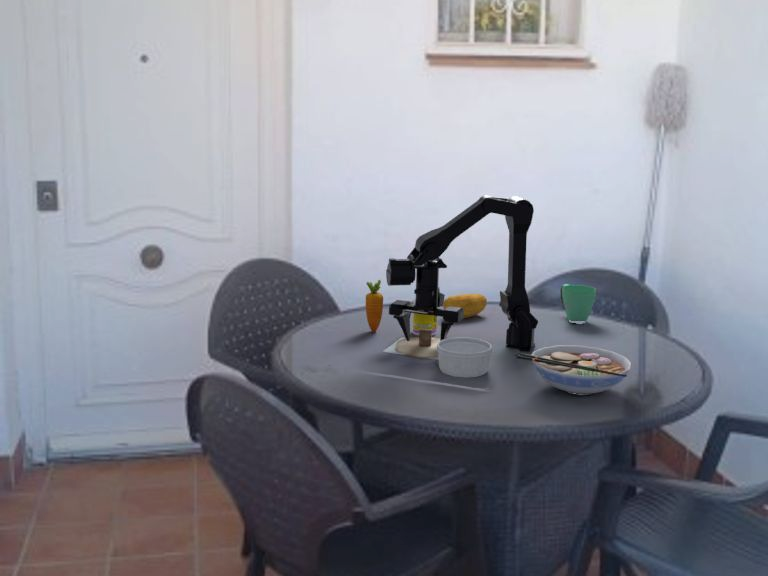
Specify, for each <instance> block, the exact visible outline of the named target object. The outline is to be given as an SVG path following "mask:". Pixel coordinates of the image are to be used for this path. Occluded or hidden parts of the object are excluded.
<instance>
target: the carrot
mask: <svg viewBox="0 0 768 576" xmlns="http://www.w3.org/2000/svg"><path fill="white" fill-rule="evenodd" d="M381 282H382V280H381V279H378V280H377V282H375V283H374V284H373V282H372V281H370V282H369V281H367V282H366V285H367V287H368V289H369V290H370V292H368V293H367V294H366V295H365V314H366V321H367V323H368V327H369V330H370V331H371V332H372V333H376V332H377V331H378V328H379V327H380V324H381V321H382V316H383V308H384V296H383V294H381V292H378V291H379V290H380V288H381Z"/></svg>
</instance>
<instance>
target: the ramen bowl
mask: <svg viewBox="0 0 768 576" xmlns="http://www.w3.org/2000/svg"><path fill="white" fill-rule="evenodd" d="M515 358H516V359H519V360H523V361H524V360H525V361H530V362H532V364H533V366H534V367H535V369H536V371H537V372H538V373H539V375H540V376H541V378H542V379H543V380H544V381H545V382H546V383H547V384H549V385H551V386H552V387H554V388H557V389H558V390H561V391H563V390H564V392H565V391H567V392H570V393H576V394H590V395H592V394H591V393H593V394H597V393H601V392H605V391H607V390H609V389H611V388H614V387H616V386H617V385H618V384H620V383H621V382H622V381H623V380H624V378H627V377H628V373H629V372H630V370H631V367H632V362H631V361H630V360H629V359H628V358H627V357H626V356H624V355H622V354H619V353H617V352H615V351H611V350H608V349H603V348H600V347H593V346H586V345H585V346H584V345H564V344H563V345H552V346H545V347H541V348H539V349H537V350H534V351H533V352H532V354H527V353H522V352H520V353H519V354H517V355H516V357H515ZM567 392H566V393H567ZM570 393H569V394H570Z"/></svg>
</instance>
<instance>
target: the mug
mask: <svg viewBox="0 0 768 576" xmlns="http://www.w3.org/2000/svg"><path fill="white" fill-rule="evenodd" d="M597 291H598V289H596V288H595V287H592V286H589V285H581V284H568V283H564V284H562V285H561V288H560V299H561V303H562V307H563V309H564V311H565V315H566V318H567V321H568V320H571V321H586V320H587V321H588V318H589V317H590V315H591V312H592V310H593V307H594V303H595V299H596V296H597ZM587 321H586V322H587Z"/></svg>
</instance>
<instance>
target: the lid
mask: <svg viewBox="0 0 768 576" xmlns="http://www.w3.org/2000/svg"><path fill="white" fill-rule="evenodd" d="M404 338H405V339H402V340H399V339H398V340H399V341H398V340H397V341H398V342H397V343H396V350H397V351H398V352H400V353H402V354H405V355H404V356H408V357H413V358H421V359H429V358H435V357H438V351H437V344H438V342H439V341H440V338H438V337H433V336H432V330H430V329H420V330H419V336H413V337H411V336H410V341H407V340H406V337H404Z"/></svg>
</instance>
